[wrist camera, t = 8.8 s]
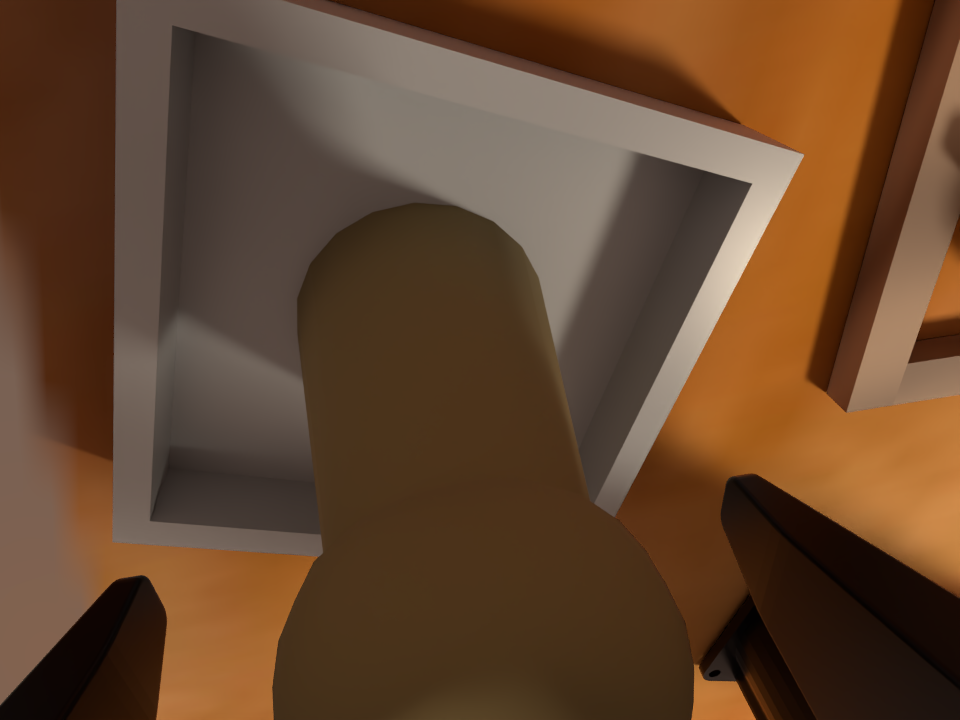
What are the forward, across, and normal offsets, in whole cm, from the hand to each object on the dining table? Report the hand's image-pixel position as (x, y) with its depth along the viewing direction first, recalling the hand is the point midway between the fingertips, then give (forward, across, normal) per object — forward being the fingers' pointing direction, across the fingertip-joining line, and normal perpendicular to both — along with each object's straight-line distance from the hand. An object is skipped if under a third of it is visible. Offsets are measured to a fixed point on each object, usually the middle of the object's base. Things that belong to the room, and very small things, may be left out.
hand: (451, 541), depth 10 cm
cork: (+7, 0, 0) cm, 7 cm away
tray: (+8, 0, 0) cm, 8 cm away
